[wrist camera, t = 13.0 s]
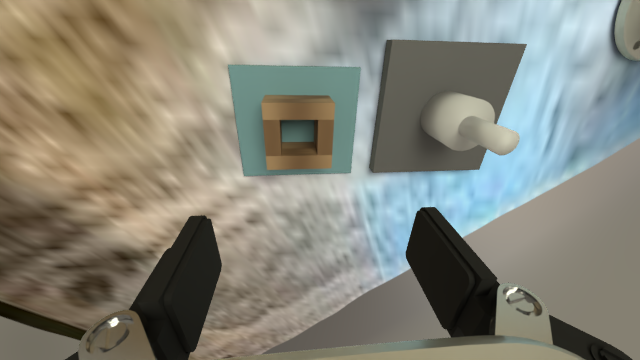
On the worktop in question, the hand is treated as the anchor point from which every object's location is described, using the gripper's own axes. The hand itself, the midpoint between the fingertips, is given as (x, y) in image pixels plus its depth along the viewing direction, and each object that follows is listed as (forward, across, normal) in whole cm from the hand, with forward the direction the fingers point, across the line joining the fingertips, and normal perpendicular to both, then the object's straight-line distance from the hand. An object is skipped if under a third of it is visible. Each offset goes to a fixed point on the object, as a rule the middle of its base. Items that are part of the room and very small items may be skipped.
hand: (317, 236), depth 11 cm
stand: (+19, -15, -1) cm, 24 cm away
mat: (+18, +1, 0) cm, 18 cm away
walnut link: (+18, +1, 0) cm, 18 cm away
